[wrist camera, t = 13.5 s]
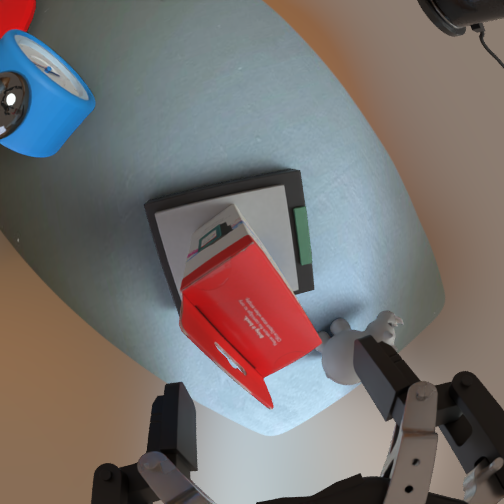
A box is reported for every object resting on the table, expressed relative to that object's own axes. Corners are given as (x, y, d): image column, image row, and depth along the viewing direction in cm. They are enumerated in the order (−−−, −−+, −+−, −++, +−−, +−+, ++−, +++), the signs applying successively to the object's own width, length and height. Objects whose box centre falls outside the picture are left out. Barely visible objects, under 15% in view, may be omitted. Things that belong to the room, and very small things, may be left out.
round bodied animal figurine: (388, 318, 36) (419, 351, 29) (321, 362, 37) (343, 403, 29) (376, 284, 34) (413, 317, 26) (302, 334, 34) (324, 378, 27)
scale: (293, 168, 27) (303, 170, 24) (307, 280, 32) (317, 293, 29) (148, 200, 26) (141, 206, 23) (182, 309, 31) (180, 325, 28)
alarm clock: (114, 115, 22) (31, 86, 8) (75, 158, 23) (-22, 172, 9) (58, 49, 18) (-17, 8, 4) (24, 89, 18) (-61, 74, 4)
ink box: (282, 270, 27) (344, 374, 14) (241, 297, 28) (271, 415, 14) (233, 200, 24) (266, 263, 10) (189, 232, 24) (168, 328, 11)
